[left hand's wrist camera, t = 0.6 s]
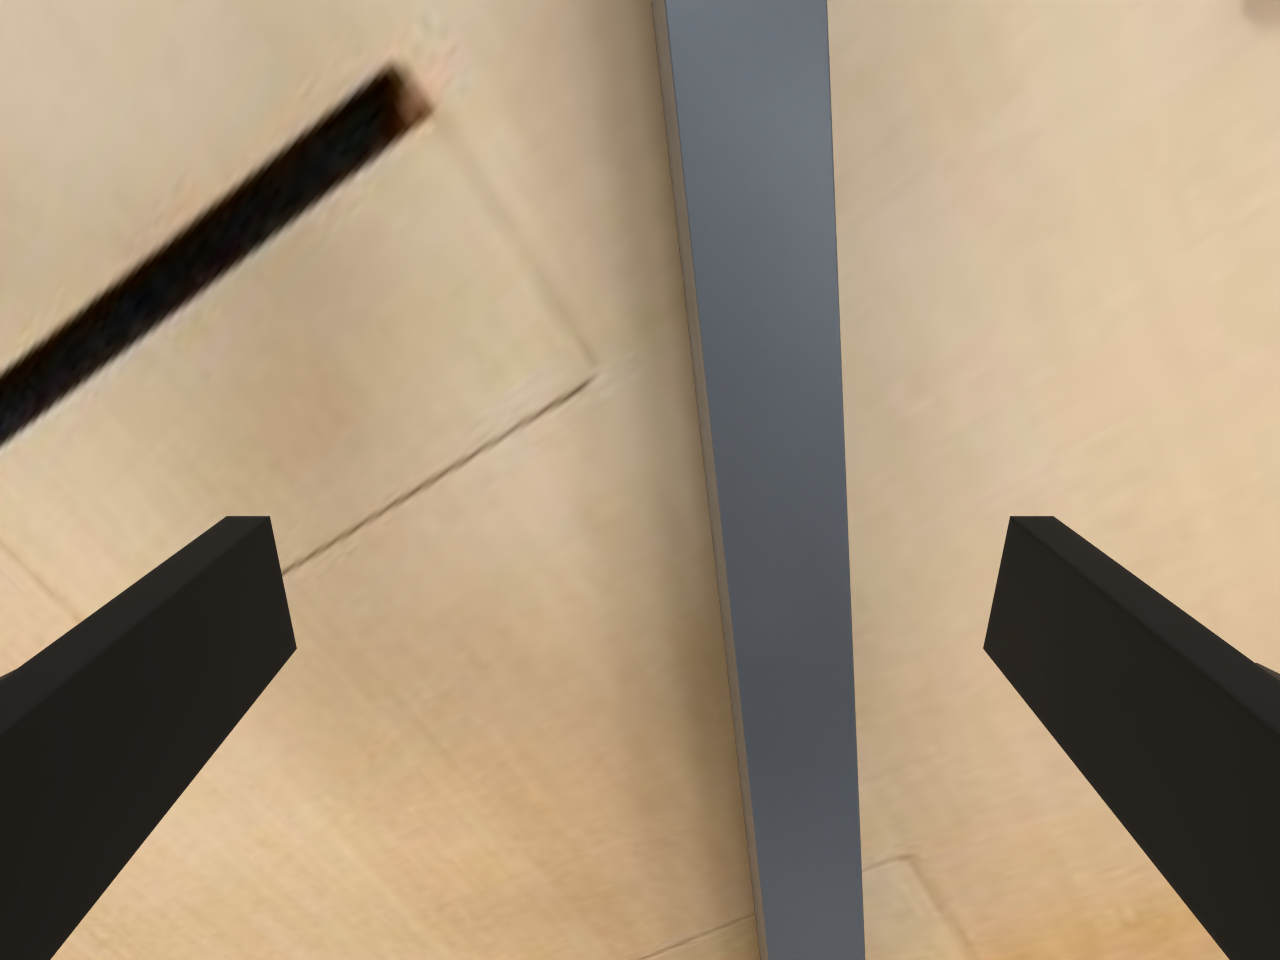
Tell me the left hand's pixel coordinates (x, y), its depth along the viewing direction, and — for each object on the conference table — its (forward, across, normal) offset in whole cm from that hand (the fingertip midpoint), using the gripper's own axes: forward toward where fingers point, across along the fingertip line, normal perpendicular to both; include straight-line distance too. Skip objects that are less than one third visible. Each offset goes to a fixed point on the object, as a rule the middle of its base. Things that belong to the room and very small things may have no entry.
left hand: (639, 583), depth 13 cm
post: (+22, +7, -12) cm, 26 cm away
